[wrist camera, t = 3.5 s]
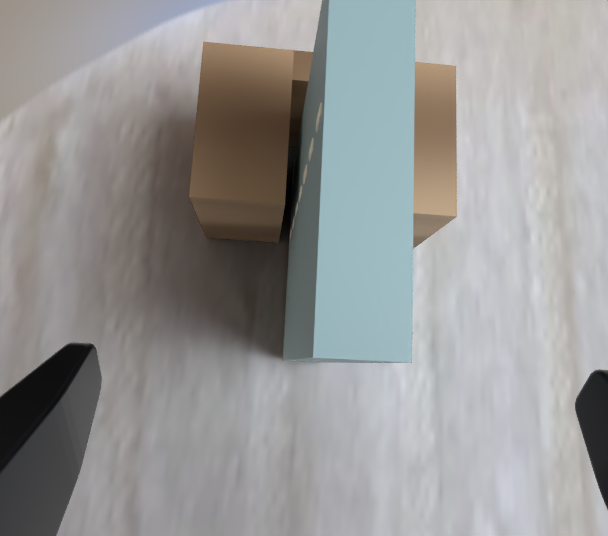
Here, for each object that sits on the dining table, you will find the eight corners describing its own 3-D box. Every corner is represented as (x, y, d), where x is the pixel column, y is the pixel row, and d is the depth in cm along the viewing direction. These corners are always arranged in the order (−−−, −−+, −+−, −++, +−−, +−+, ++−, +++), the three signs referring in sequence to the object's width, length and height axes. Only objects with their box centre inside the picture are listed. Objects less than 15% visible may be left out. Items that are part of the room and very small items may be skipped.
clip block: (409, 251, 20) (456, 216, 15) (206, 237, 20) (188, 196, 15) (410, 133, 21) (455, 65, 16) (216, 117, 21) (203, 41, 16)
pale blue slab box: (326, 362, 19) (413, 362, 8) (281, 360, 19) (311, 356, 8) (334, 171, 20) (417, -43, 10) (292, 167, 20) (329, -53, 10)
